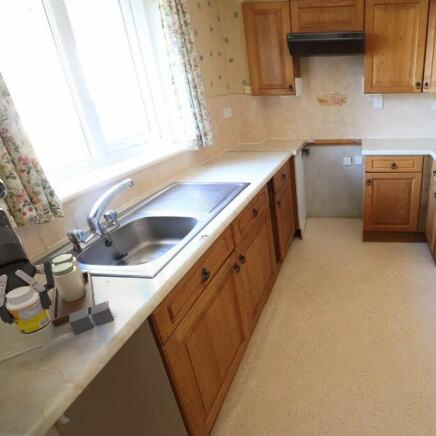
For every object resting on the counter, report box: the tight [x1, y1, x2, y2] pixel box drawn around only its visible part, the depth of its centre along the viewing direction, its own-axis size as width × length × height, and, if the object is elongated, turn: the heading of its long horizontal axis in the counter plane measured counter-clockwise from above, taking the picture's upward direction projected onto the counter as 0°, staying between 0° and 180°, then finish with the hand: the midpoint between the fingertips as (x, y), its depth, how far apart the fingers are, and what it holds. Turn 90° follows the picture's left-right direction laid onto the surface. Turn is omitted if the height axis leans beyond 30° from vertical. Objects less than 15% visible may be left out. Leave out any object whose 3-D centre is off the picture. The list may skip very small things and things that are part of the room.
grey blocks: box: [68, 300, 115, 336], centre depth 85 cm, size 9×4×4 cm, turn 126°
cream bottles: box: [51, 253, 86, 302], centre depth 96 cm, size 6×12×10 cm, turn 36°
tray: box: [50, 270, 96, 328], centre depth 94 cm, size 9×22×3 cm, turn 36°
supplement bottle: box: [6, 286, 52, 336], centre depth 72 cm, size 6×6×10 cm
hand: (29, 315), depth 71 cm, fingers closed on supplement bottle, 5 cm apart
